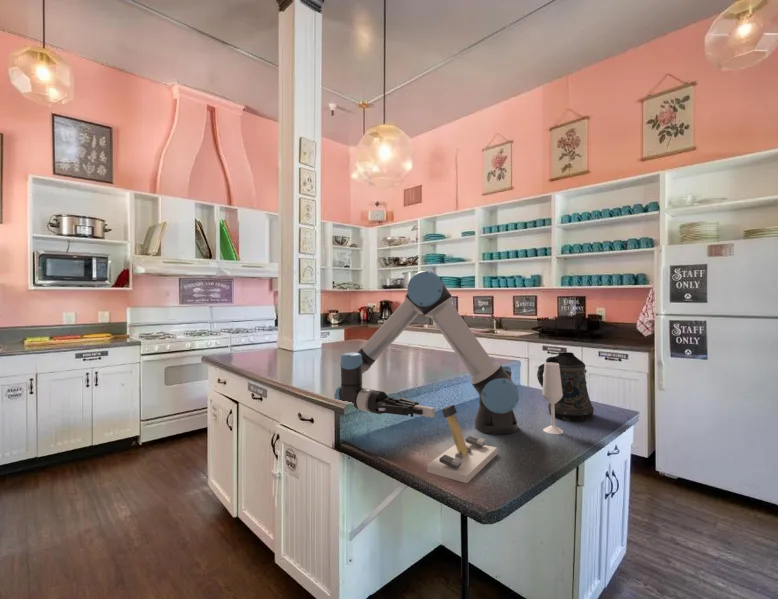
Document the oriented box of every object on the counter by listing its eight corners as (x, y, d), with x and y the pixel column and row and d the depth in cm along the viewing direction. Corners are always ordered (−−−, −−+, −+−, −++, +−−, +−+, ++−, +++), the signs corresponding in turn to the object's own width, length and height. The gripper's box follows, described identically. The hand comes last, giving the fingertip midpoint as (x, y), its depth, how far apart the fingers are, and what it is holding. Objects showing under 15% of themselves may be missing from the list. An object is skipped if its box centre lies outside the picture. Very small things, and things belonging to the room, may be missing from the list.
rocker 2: (469, 438, 123) (470, 433, 123) (484, 445, 120) (485, 439, 120) (465, 441, 120) (466, 436, 120) (480, 448, 117) (481, 442, 117)
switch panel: (461, 446, 126) (460, 435, 126) (497, 454, 119) (496, 442, 119) (427, 472, 108) (426, 459, 108) (467, 483, 101) (466, 469, 101)
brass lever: (464, 453, 115) (448, 406, 118) (470, 452, 114) (454, 404, 117) (458, 458, 112) (441, 409, 115) (463, 457, 111) (447, 408, 114)
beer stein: (603, 419, 148) (602, 354, 148) (560, 425, 143) (558, 357, 143) (573, 407, 164) (572, 349, 164) (533, 412, 159) (532, 351, 159)
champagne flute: (551, 435, 133) (549, 365, 133) (539, 428, 140) (537, 362, 140) (567, 432, 135) (566, 364, 135) (554, 426, 142) (553, 361, 141)
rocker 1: (444, 457, 109) (445, 451, 109) (461, 465, 106) (462, 459, 106) (439, 461, 107) (440, 455, 106) (456, 469, 104) (457, 463, 103)
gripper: (384, 407, 138) (443, 419, 124) (361, 417, 127) (422, 431, 113) (384, 386, 138) (443, 396, 124) (360, 394, 127) (422, 405, 113)
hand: (433, 412), depth 119 cm, fingers closed
